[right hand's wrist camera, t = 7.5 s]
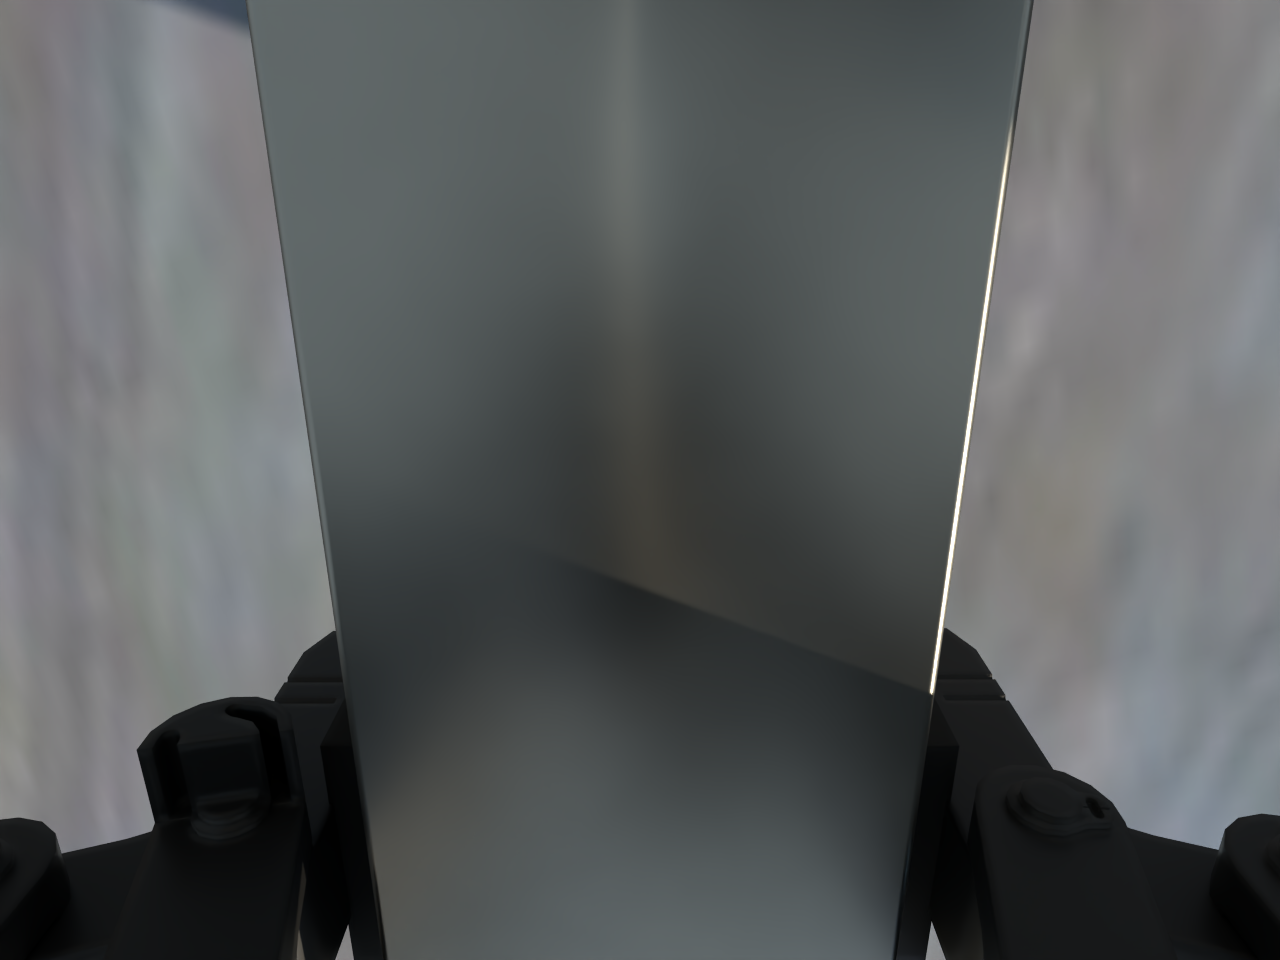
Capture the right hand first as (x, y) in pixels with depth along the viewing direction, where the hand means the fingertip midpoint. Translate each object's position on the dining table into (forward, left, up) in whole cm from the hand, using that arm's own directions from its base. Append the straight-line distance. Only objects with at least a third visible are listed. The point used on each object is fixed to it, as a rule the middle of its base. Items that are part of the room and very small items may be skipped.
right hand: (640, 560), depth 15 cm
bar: (+2, +8, -1) cm, 8 cm away
